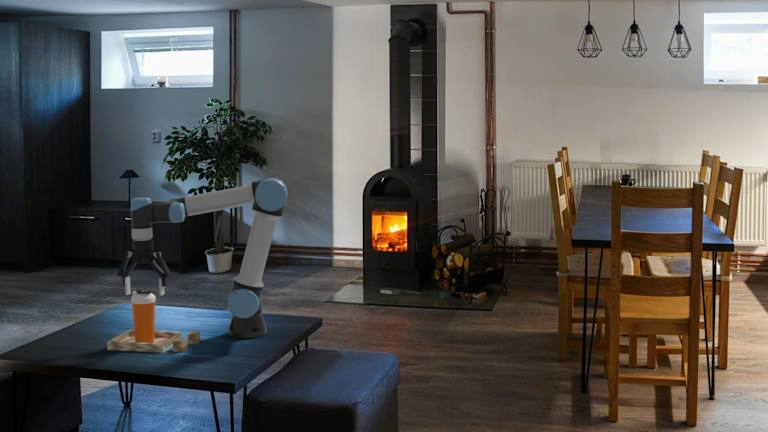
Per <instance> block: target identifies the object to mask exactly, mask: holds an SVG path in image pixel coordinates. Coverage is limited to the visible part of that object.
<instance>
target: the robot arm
mask: <svg viewBox="0 0 768 432" xmlns="http://www.w3.org/2000/svg"><path fill="white" fill-rule="evenodd" d="M288 197H289V189H288V185H287V183H286V182H285V181H284V180H283V179H282V178H280V177H278V176H275V175H274V176H269V177H264V178H263V179H259V180H255V181H250V183H249V184H248V185H241V186H238V187H233V188H226V189H222V190H221V189H220V190H216V191H211V192H205V193H200V194H196V195H195V194H194V195H189V196H183V197H179V198H178V197H175V198H171V199H168V200H167V201H166V202H152V199H151V198H150V197H135V198H132V199H131V200H130V223H131V225H130V226H131V239H132V240H131V244H132V248H131V249H132V251H130V250H127V251H125V252H124V258H123V260H122V262H121V264H120V266H119V269H118V272H117V273H116V274H117V277H121V278H122V285H123V286H124V287H125V293H124V294H125V296H128V295H131V294H132V291H131V276H129V275H130V273H132V271H133V269H134V268H135V267H136V266H137V265H142V264H144V265H147V264H148V265H149V266H150V267H151V268H152V269H153V270H154V271H155V272H156V274H157V275H158V277H159V278H158V285H159V286H158V287H159V288H158V289H159V296H160V297H162V296H164V295H165V293H166V292H165V287H166V286H167V277H171V274H172V273H171V271H170V269H169V267H168V266H167V263H166V261H165V260H164V257H163V252H162V251H158V252H157V251H156V252H154V239H152V238H153V237H154V235H153V234H154V233H153V224H160V223H161V224H165V223H167V224H168V223H169V224H170V223H171V224H172V223H173V224H176V223H183V222H185V217H189V216H196V215H202V214H206V213H211V212H217V211H224V210H228V209H235V208H238V207H246V206H249V205H252V208H251V210H252V212H253V215H254V216H253V219H252V223H251V227H250V231H249V235H248V239H247V243H246V248H245V252H244V255H243V258H242V262H241V267H240V271H239V274H238V275H237V276H234V277H233V278H232V280H231V283H230V285H231V289H230V293H229V296H228V297H227V302H226V303H227V307H228V311H229V312H230V313H231V319H230V322H229V324H228V328H227V330H228V332H227V334H228V336H229V337H232V338H237V339H255V338H260V337H263V336H265V335H266V334H267V325H266V322H265V319H264V316H263V311H262V310H263V307H262V306H263V304H262V301H263V300H262V298H263V297H262V295H263V291H264V287H265V284H264V283H263V281H262V280H263V279H262V278H263V275H264V271H265V267H266V264H267V260H268V256H269V251H270V248H271V243H272V241H273V240H272V239H273V238H274V234H275V228H276V226H277V221H278V220H279V219H281V218H282V217H283V215H284V214H283V213H284V212H285V211H284V210H285V207H286V202H287V201H288ZM131 257H132V258H133V260H132V261H131V263H130V264H129V261H130V258H131ZM154 257H155V259H156V260H155V259H154ZM156 261H157V262H158V264H159V265H158V264H157V262H156ZM128 264H129V266H128ZM127 266H128V267H127Z"/></svg>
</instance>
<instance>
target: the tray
mask: <svg viewBox="0 0 768 432" xmlns="http://www.w3.org/2000/svg"><path fill="white" fill-rule="evenodd" d="M178 338H182V339H183V332H182V331H165V330H164V331H160V330H155V339H154V342H153V343H136V342H135V334H134V329H128V330H126V331H124V332H122V333H121V334H119V335H117V336H115V337H112V339H110V340H108V341H106V346H107V348H106V349H107V350H108V351H128V352H147V353H148V352H149V353H165V352H166V351H168V350H170V349H172V348H173V341H174V340H176V339H178Z"/></svg>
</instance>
